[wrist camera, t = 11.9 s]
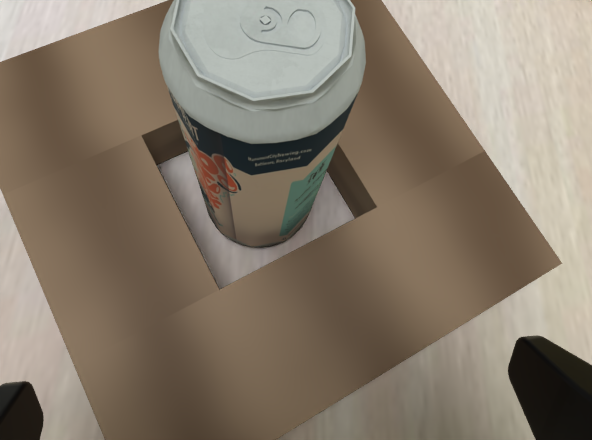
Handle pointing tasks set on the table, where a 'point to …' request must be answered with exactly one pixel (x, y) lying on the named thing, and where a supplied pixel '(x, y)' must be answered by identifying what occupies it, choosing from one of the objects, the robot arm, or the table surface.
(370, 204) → the holder block
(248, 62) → the beer can
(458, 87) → the table surface
